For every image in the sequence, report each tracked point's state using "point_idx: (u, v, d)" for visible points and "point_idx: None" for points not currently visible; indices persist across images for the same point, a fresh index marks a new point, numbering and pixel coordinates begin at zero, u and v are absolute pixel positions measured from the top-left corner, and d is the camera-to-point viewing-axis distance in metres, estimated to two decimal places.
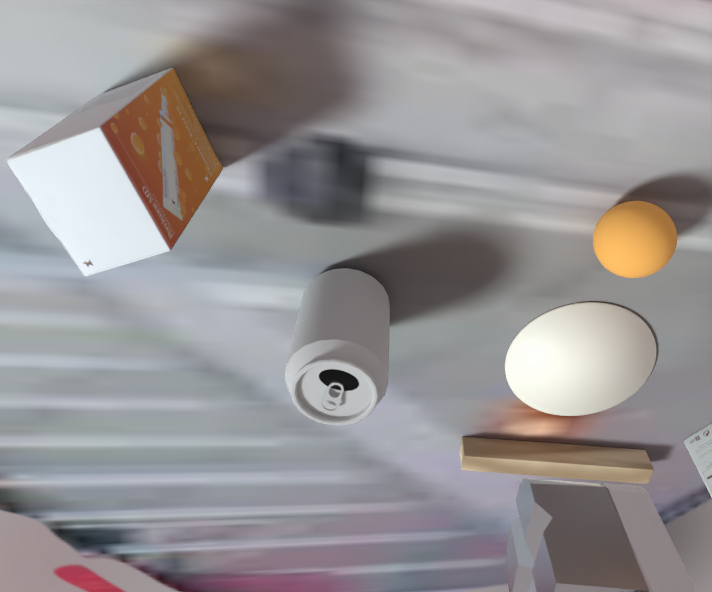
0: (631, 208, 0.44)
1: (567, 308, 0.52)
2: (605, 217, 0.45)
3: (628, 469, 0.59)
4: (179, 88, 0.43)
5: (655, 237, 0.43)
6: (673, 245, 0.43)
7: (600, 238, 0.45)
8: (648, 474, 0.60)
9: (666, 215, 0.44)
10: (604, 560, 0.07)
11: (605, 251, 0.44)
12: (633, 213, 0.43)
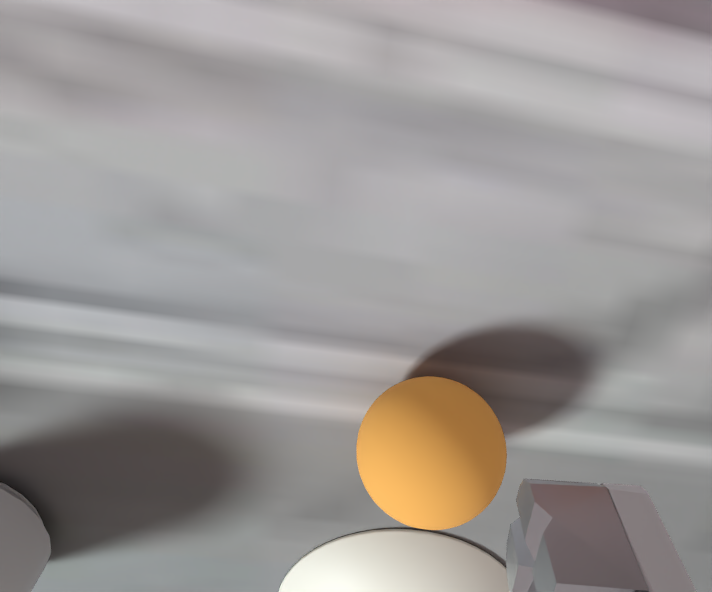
0: (409, 401, 0.22)
1: (360, 539, 0.30)
2: (370, 409, 0.23)
3: None
4: None
5: (449, 467, 0.21)
6: (492, 477, 0.21)
7: (359, 453, 0.23)
8: None
9: (479, 414, 0.22)
10: (604, 560, 0.07)
11: (366, 481, 0.22)
12: (410, 412, 0.22)
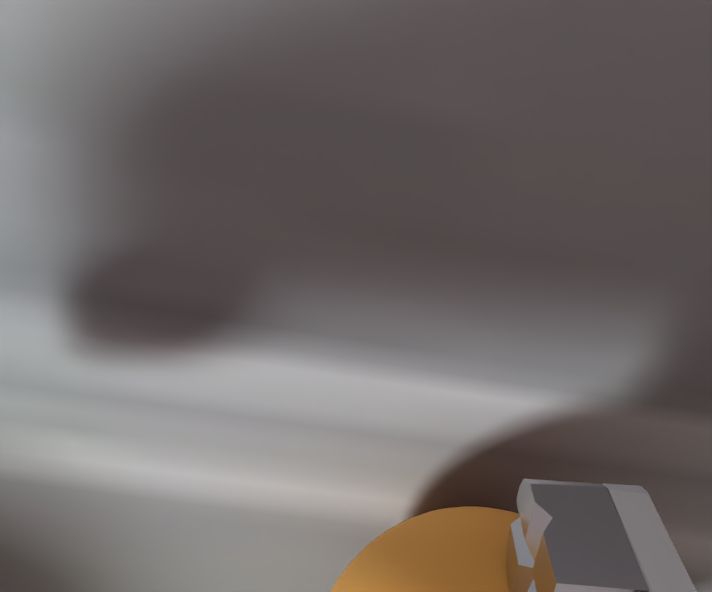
0: None
1: None
2: None
3: None
4: None
5: None
6: None
7: None
8: None
9: None
10: (604, 560, 0.07)
11: None
12: None
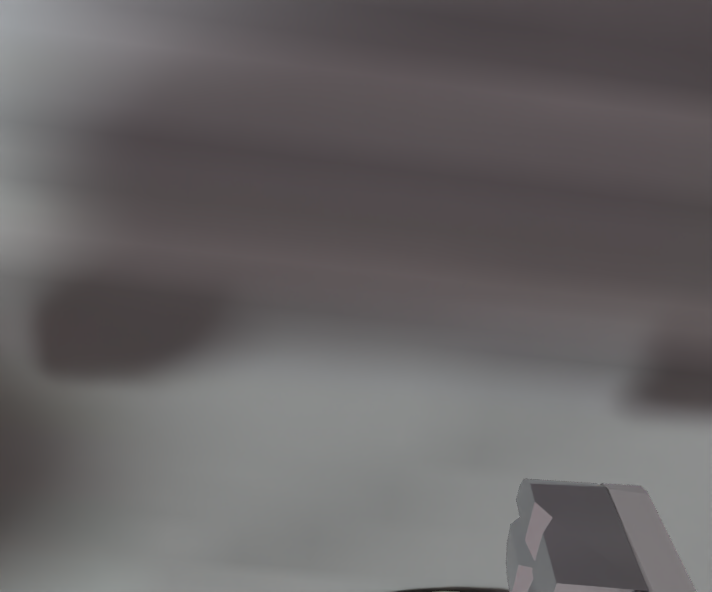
0: None
1: None
2: None
3: None
4: None
5: None
6: None
7: None
8: None
9: None
10: (604, 560, 0.07)
11: None
12: None
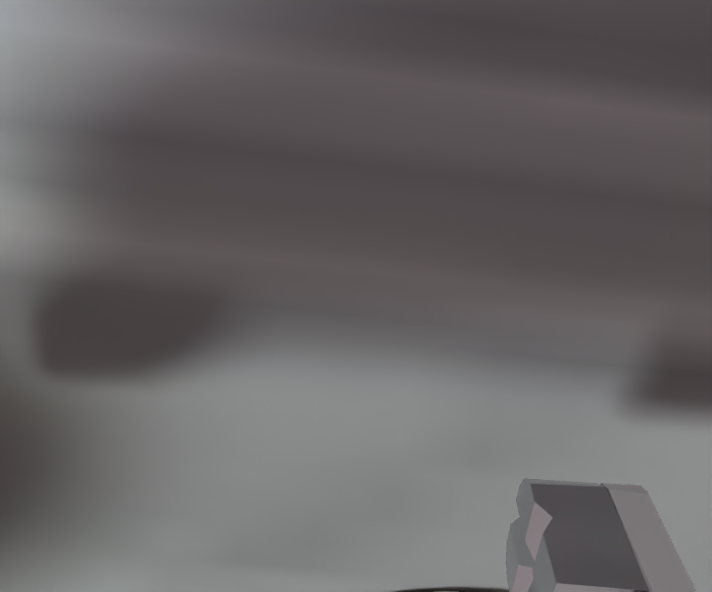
0: None
1: None
2: None
3: None
4: None
5: None
6: None
7: None
8: None
9: None
10: (604, 560, 0.07)
11: None
12: None
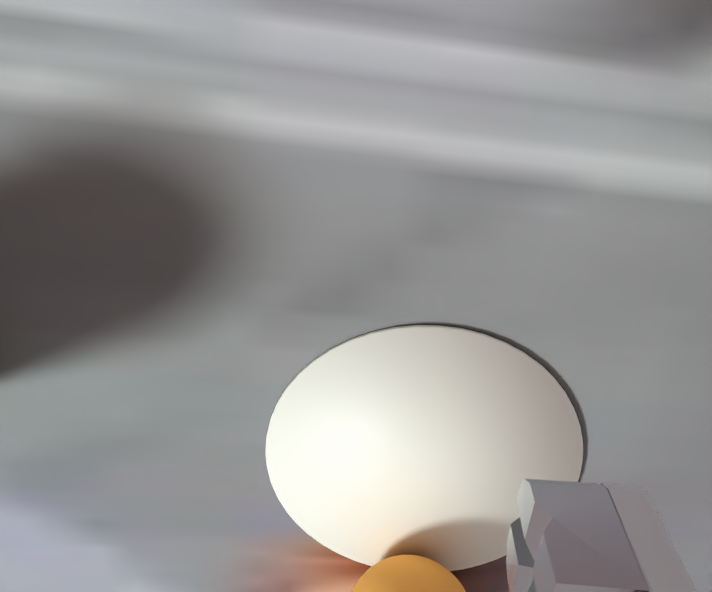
0: None
1: (373, 340, 0.23)
2: None
3: None
4: None
5: None
6: None
7: None
8: None
9: None
10: (604, 560, 0.07)
11: None
12: None
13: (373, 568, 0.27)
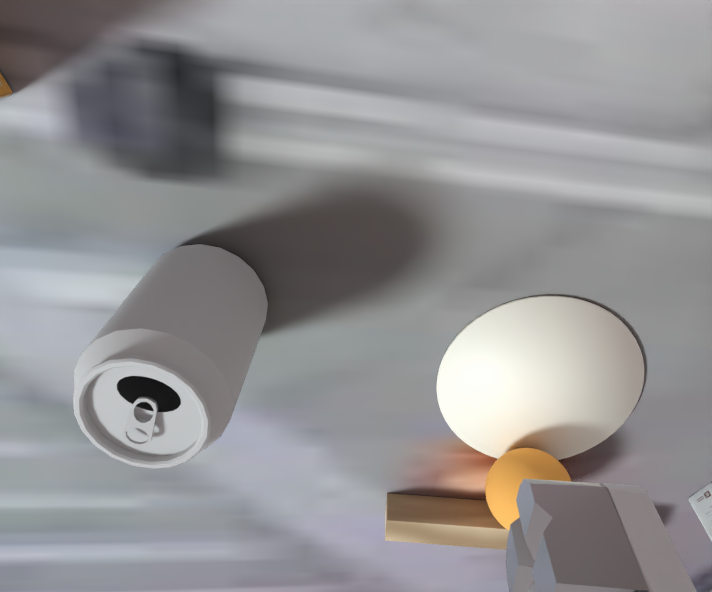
0: None
1: (516, 305, 0.37)
2: (497, 485, 0.39)
3: None
4: None
5: None
6: None
7: (488, 501, 0.40)
8: None
9: None
10: (604, 560, 0.07)
11: (491, 511, 0.41)
12: None
13: (504, 455, 0.41)
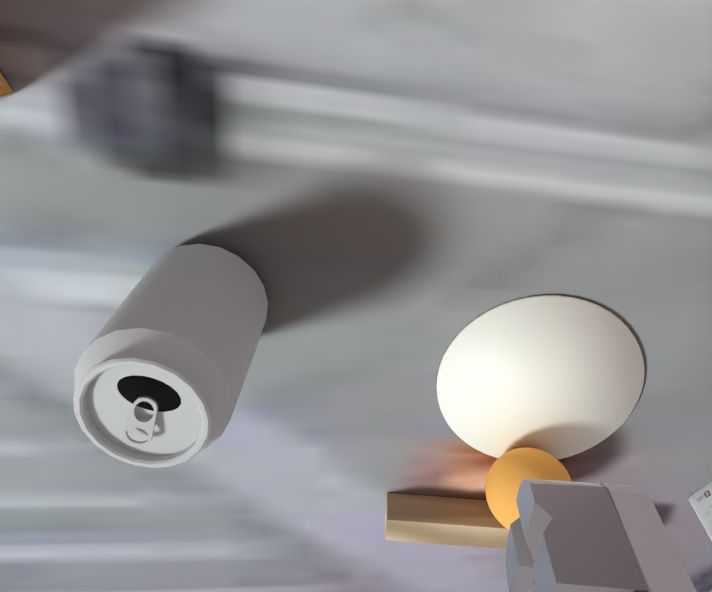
0: None
1: (516, 304, 0.37)
2: (497, 485, 0.39)
3: None
4: None
5: None
6: None
7: (488, 500, 0.40)
8: None
9: None
10: (604, 560, 0.07)
11: (491, 511, 0.41)
12: None
13: (504, 455, 0.41)
